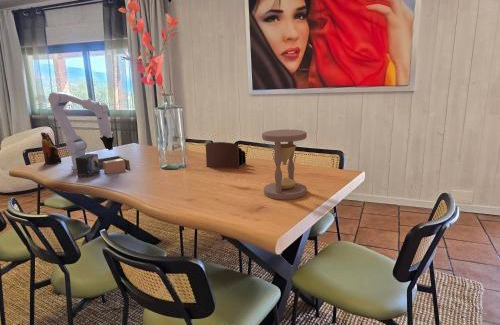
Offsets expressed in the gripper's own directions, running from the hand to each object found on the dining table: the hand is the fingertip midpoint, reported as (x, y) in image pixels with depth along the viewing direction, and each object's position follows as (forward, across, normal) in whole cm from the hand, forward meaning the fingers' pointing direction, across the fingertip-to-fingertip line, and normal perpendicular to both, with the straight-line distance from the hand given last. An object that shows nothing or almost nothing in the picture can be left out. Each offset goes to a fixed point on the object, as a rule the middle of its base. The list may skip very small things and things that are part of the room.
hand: (109, 149), depth 194 cm
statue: (+8, +42, +27) cm, 51 cm away
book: (+11, -9, +1) cm, 14 cm away
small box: (+11, -7, +14) cm, 19 cm away
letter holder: (+16, -41, -51) cm, 67 cm away
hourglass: (+18, -98, -46) cm, 110 cm away
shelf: (+11, -1, +1) cm, 11 cm away
